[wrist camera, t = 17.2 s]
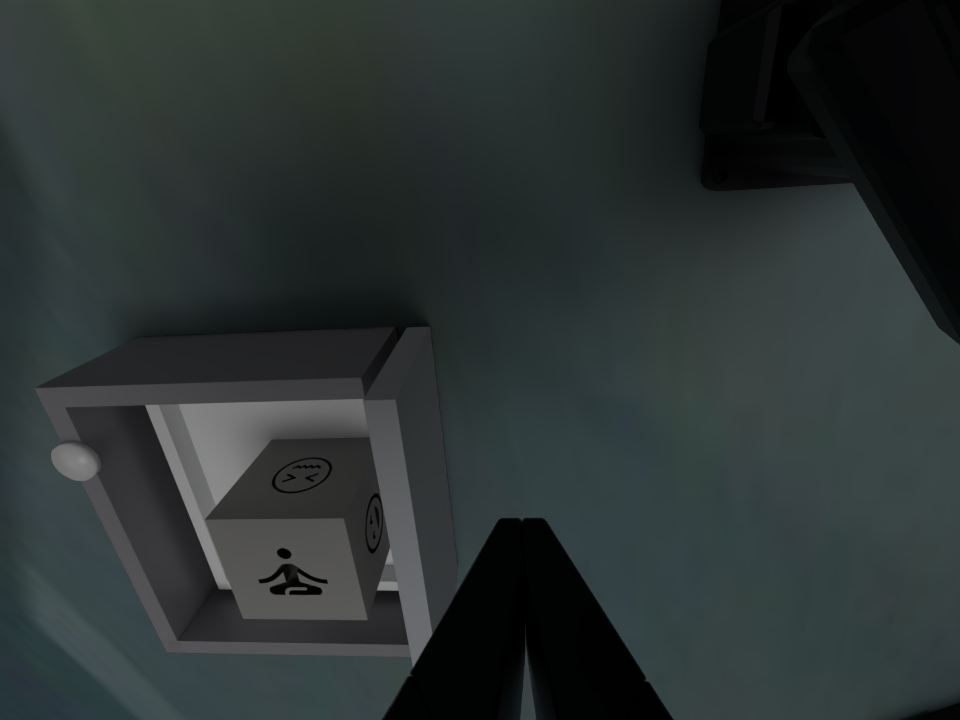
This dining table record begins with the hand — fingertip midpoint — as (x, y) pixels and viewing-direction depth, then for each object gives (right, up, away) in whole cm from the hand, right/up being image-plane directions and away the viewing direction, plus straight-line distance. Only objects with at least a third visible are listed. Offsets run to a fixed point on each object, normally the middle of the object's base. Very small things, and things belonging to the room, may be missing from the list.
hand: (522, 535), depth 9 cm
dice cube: (-7, -2, +13) cm, 15 cm away
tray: (-8, -2, +14) cm, 17 cm away
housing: (-10, -2, +15) cm, 18 cm away
